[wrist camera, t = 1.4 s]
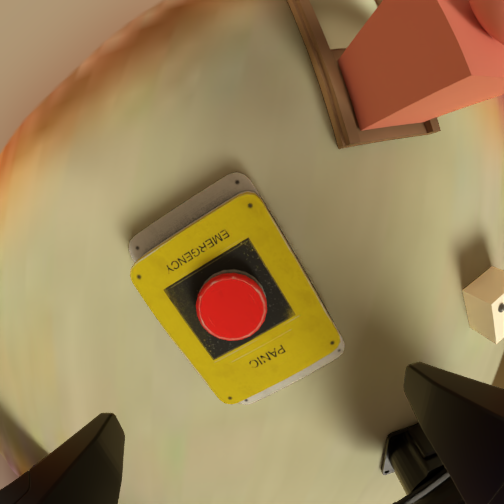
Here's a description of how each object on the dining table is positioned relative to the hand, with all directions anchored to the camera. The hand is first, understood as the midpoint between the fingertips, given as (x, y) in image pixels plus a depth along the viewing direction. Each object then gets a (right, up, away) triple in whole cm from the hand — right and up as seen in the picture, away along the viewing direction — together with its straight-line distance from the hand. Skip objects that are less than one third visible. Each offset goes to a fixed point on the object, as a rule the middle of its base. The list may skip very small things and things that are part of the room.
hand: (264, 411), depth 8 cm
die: (+19, +1, +13) cm, 24 cm away
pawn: (+8, +15, +9) cm, 19 cm away
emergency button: (-1, +1, +13) cm, 13 cm away
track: (+7, +19, +10) cm, 22 cm away
